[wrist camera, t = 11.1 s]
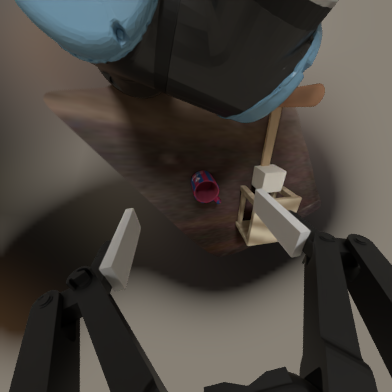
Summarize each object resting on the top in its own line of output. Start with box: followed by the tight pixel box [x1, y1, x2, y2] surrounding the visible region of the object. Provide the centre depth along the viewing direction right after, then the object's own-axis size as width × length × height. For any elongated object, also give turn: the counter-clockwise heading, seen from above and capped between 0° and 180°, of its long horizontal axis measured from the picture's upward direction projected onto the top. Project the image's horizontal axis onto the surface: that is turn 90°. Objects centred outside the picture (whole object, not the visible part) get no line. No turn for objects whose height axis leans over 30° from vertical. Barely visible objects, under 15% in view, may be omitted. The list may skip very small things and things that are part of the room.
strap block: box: [252, 83, 325, 193], centre depth 36 cm, size 24×6×11 cm, turn 2°
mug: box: [191, 171, 221, 204], centre depth 42 cm, size 7×10×7 cm
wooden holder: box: [236, 186, 302, 246], centre depth 47 cm, size 16×13×10 cm
